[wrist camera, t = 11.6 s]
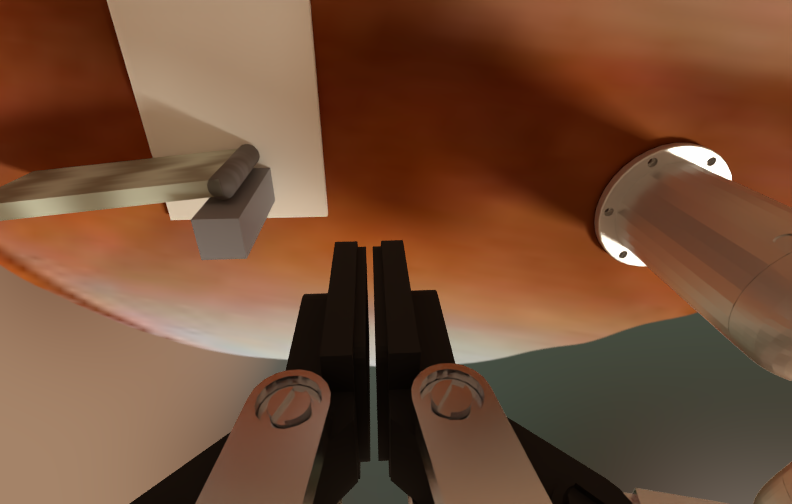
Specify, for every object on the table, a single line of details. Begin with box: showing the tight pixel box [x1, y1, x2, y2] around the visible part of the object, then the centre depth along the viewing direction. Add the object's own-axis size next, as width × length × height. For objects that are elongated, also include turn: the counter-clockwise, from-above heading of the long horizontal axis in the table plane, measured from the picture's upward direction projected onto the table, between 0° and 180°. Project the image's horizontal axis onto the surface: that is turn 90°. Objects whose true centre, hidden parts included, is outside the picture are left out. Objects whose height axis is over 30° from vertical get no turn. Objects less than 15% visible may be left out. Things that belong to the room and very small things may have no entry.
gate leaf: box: [0, 144, 260, 221], centre depth 31 cm, size 18×2×8 cm, turn 95°
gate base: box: [107, 0, 328, 260], centre depth 27 cm, size 26×14×11 cm, turn 0°
